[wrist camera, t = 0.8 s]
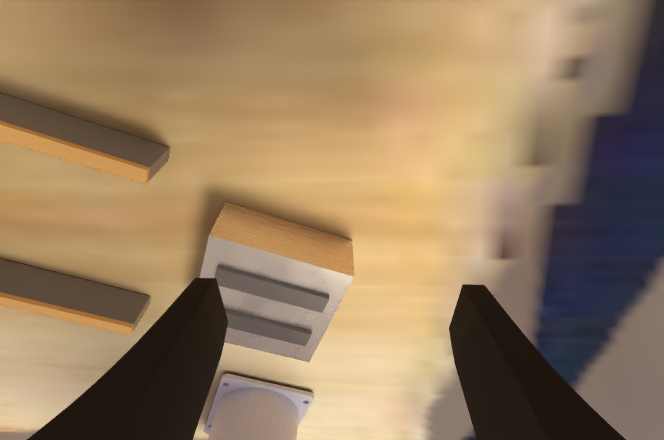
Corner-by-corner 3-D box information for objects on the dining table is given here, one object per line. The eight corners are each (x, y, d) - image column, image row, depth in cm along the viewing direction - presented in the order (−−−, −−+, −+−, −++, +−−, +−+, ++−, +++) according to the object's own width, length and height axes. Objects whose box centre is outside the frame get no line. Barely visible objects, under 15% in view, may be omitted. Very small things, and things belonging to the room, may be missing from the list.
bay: (149, 303, 26) (130, 335, 24) (-35, 258, 24) (-75, 287, 22) (169, 147, 20) (147, 170, 17) (-79, 67, 18) (-143, 80, 15)
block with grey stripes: (312, 319, 27) (308, 365, 24) (205, 291, 26) (185, 337, 23) (352, 237, 23) (354, 280, 20) (227, 199, 22) (207, 238, 19)
